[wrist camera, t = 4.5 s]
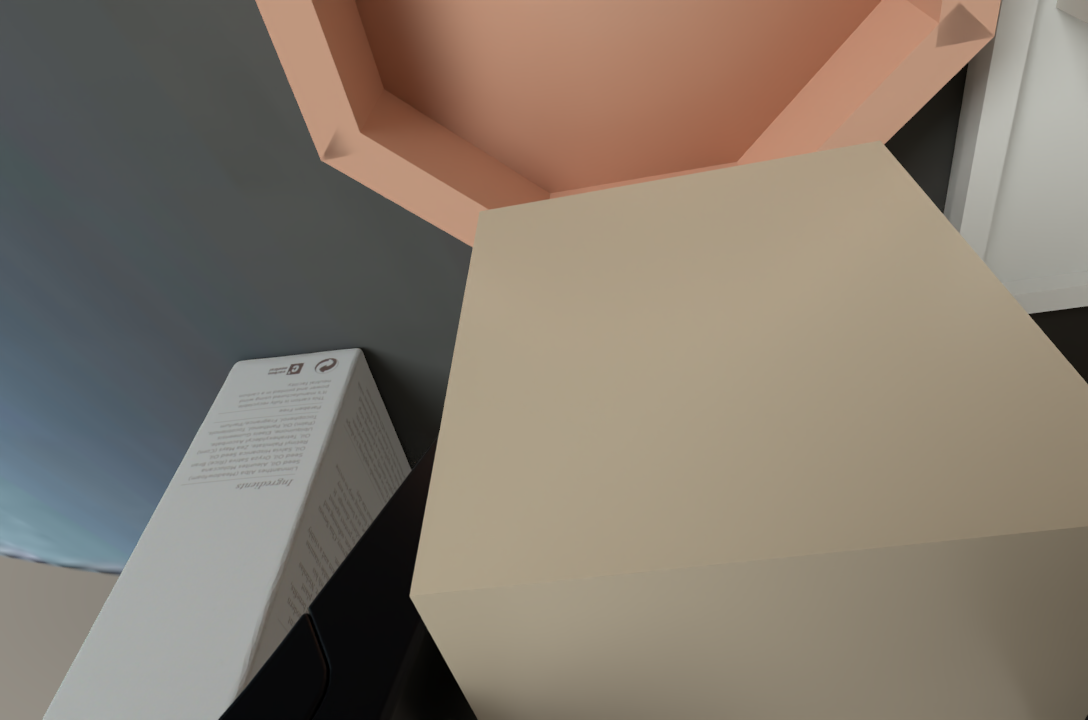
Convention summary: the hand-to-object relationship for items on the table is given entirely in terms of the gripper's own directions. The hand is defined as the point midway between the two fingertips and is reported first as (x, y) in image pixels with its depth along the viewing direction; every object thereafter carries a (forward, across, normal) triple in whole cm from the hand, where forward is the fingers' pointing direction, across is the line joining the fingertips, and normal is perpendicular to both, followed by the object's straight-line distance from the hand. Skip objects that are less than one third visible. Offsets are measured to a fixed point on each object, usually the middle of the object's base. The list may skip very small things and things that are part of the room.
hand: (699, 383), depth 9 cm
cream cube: (+1, 0, 0) cm, 1 cm away
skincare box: (+11, +11, +9) cm, 18 cm away
